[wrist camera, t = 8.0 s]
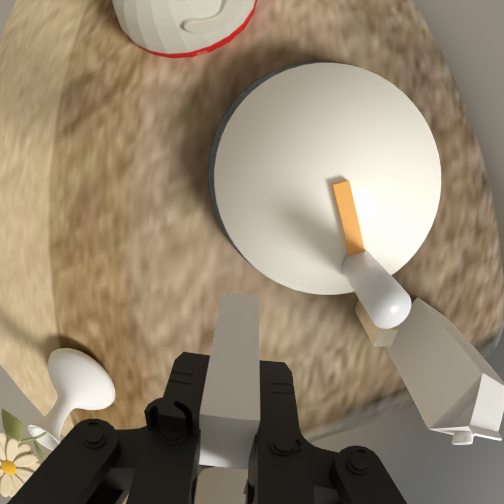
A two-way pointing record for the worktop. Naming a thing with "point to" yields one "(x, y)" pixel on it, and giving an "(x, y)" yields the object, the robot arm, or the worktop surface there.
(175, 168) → the worktop surface
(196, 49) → the kitchen timer
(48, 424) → the flower in vase
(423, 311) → the milk carton
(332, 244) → the dial
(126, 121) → the worktop surface
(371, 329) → the dial base
